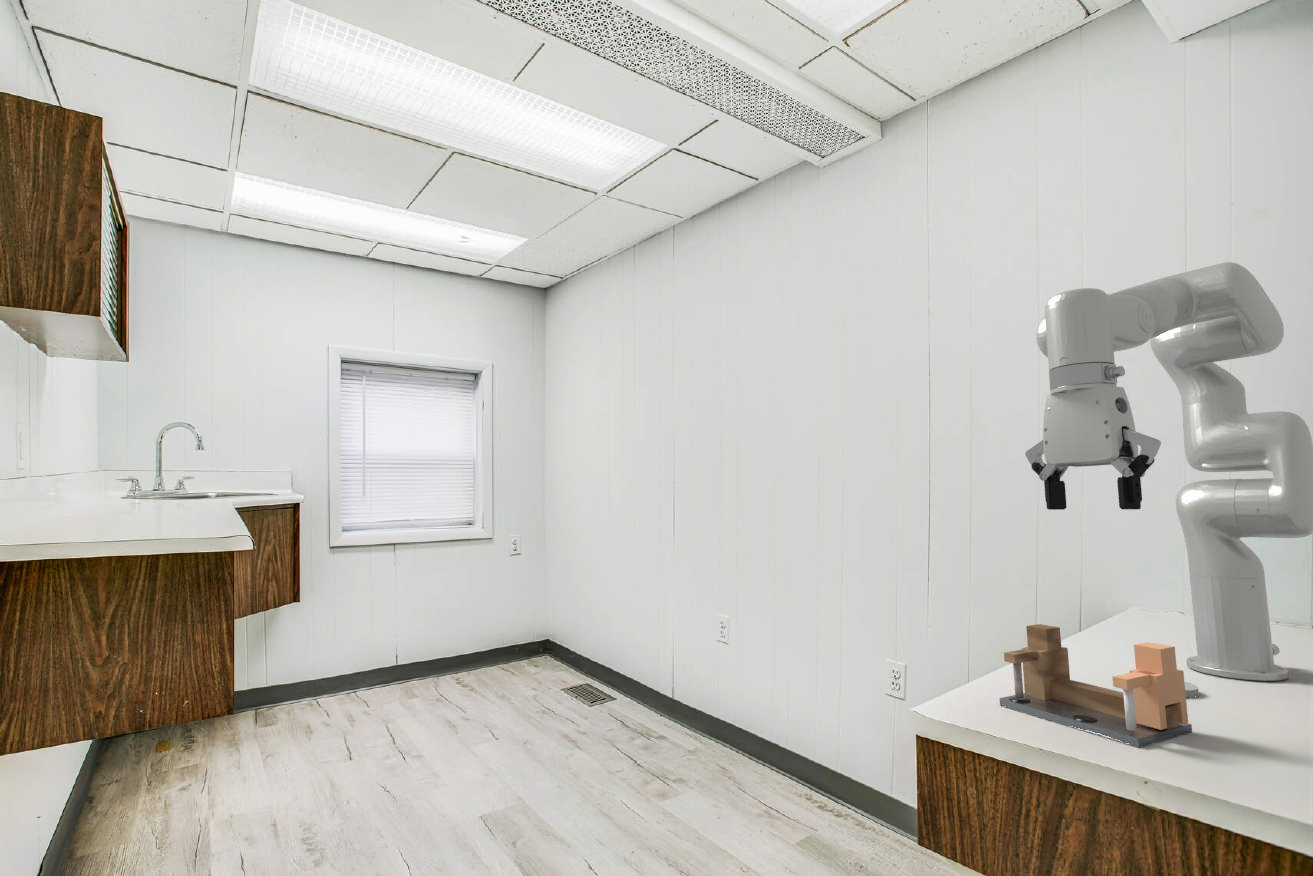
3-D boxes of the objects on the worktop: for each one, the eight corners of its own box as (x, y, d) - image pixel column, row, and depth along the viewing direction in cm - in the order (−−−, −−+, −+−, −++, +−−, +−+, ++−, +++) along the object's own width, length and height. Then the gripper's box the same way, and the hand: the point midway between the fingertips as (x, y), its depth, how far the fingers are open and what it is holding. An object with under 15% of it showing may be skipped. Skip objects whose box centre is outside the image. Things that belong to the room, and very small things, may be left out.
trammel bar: (1049, 688, 96) (1044, 623, 97) (1186, 724, 80) (1178, 645, 81) (1001, 698, 92) (996, 629, 93) (1135, 738, 76) (1128, 654, 77)
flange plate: (1051, 695, 96) (1050, 687, 96) (1192, 732, 80) (1191, 723, 80) (999, 705, 92) (999, 697, 92) (1138, 747, 75) (1137, 738, 76)
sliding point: (1160, 715, 83) (1154, 641, 84) (1188, 722, 80) (1180, 645, 81) (1110, 728, 78) (1104, 649, 79) (1137, 736, 76) (1130, 654, 76)
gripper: (1170, 371, 81) (1182, 509, 79) (1041, 394, 97) (1049, 509, 95) (1132, 366, 78) (1144, 509, 77) (1005, 390, 94) (1013, 509, 92)
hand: (1091, 509), depth 86 cm, fingers open, 9 cm apart
